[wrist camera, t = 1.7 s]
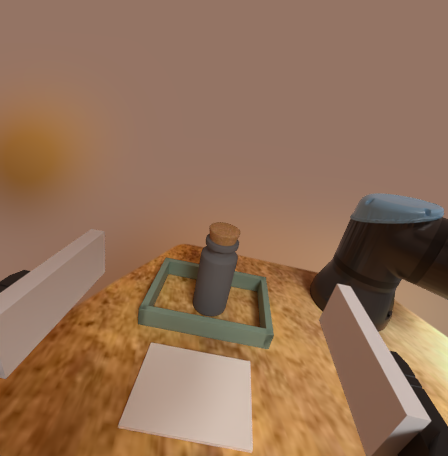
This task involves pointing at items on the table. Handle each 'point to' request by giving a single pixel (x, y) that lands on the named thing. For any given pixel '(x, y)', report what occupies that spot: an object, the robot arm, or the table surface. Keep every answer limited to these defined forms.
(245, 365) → the tile
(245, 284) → the green rectangular frame
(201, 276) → the bottle
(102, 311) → the table surface
